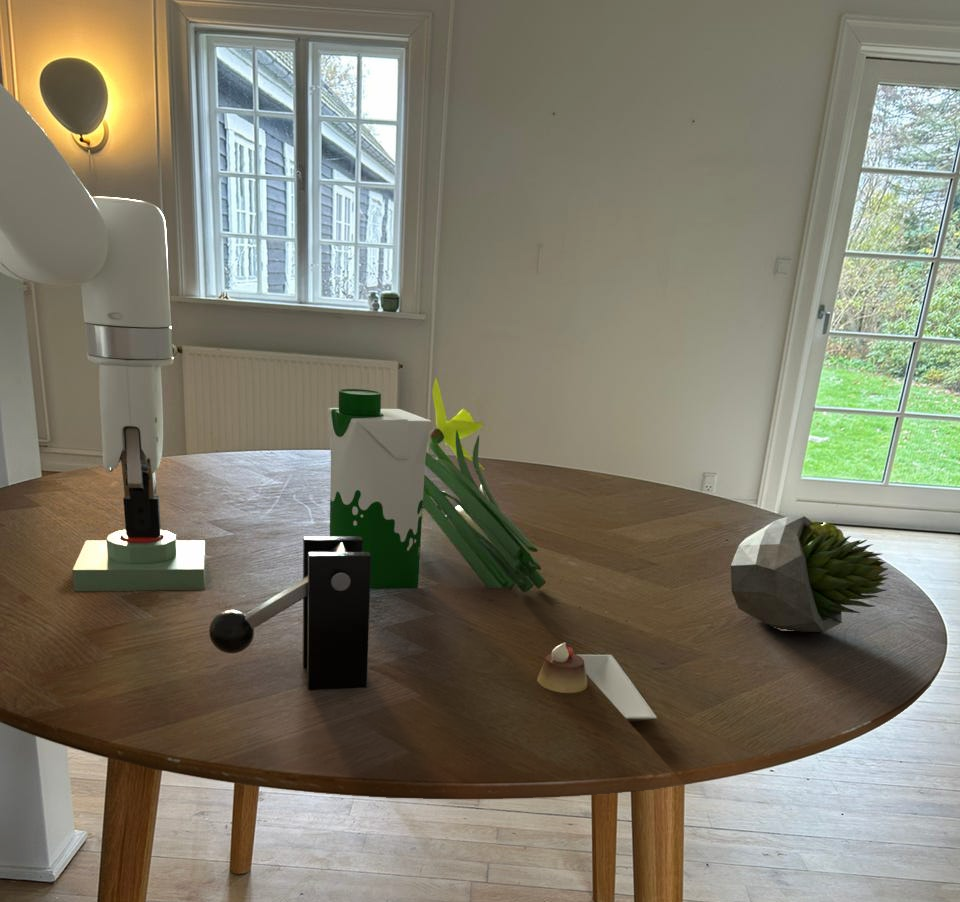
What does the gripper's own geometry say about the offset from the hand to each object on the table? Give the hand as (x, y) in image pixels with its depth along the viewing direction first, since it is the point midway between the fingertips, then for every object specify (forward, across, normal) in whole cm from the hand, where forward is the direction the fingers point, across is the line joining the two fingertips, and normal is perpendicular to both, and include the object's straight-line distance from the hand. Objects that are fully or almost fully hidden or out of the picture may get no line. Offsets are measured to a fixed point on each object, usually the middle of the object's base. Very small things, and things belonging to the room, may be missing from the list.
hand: (144, 535), depth 89 cm
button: (+2, 0, 0) cm, 2 cm away
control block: (+4, 0, 0) cm, 4 cm away
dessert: (+4, +32, +34) cm, 47 cm away
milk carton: (+4, +5, +23) cm, 24 cm away
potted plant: (+5, +19, +65) cm, 68 cm away
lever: (-2, +29, +13) cm, 32 cm away
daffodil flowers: (+5, -7, +36) cm, 37 cm away
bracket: (+4, +29, +16) cm, 33 cm away
